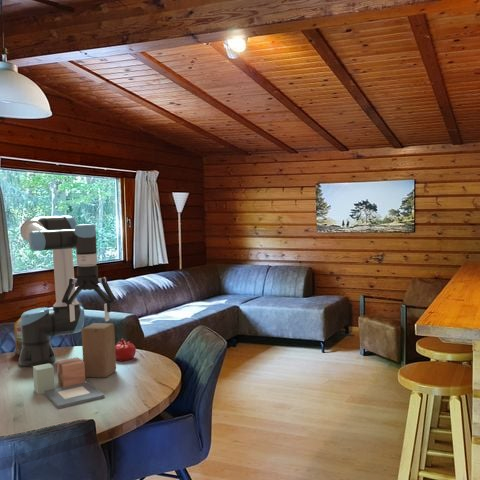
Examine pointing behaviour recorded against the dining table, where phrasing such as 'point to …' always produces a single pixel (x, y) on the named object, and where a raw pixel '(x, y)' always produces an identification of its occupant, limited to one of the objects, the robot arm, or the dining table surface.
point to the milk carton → (18, 336)
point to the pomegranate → (124, 351)
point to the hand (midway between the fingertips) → (89, 320)
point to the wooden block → (99, 350)
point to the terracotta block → (70, 372)
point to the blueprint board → (73, 394)
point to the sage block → (43, 378)
